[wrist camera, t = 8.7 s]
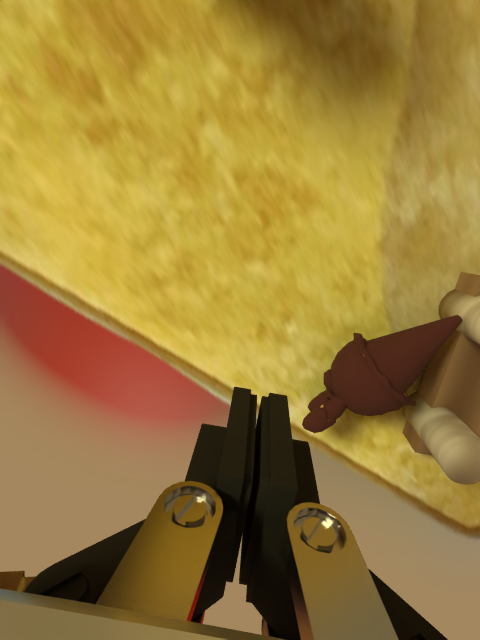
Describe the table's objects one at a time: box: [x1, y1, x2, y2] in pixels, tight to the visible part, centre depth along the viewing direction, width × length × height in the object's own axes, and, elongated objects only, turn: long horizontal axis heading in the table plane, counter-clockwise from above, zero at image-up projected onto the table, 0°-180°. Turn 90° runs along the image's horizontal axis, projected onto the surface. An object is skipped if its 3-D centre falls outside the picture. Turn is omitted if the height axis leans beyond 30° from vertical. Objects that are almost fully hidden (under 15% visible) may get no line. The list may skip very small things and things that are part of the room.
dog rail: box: [403, 272, 480, 484], centre depth 29 cm, size 6×16×8 cm, turn 170°
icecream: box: [302, 315, 462, 433], centre depth 30 cm, size 7×7×15 cm
